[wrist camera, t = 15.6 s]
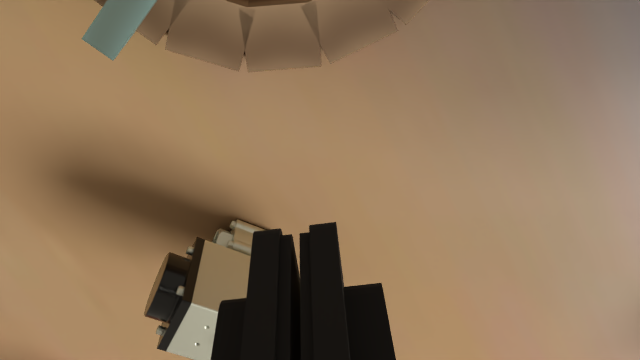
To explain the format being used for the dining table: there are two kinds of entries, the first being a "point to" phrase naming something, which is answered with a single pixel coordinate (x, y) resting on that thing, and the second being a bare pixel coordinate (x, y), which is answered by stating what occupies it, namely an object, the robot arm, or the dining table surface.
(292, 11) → the ring
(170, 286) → the pneumatic valve
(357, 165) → the dining table surface
